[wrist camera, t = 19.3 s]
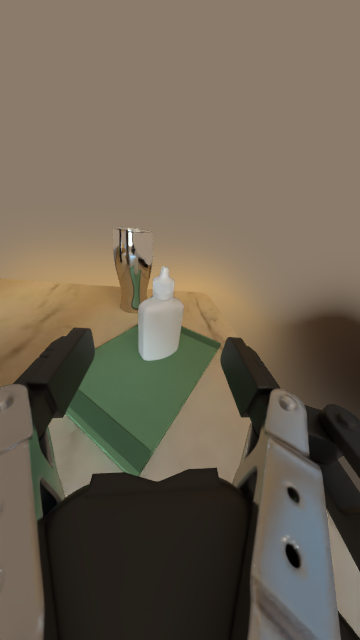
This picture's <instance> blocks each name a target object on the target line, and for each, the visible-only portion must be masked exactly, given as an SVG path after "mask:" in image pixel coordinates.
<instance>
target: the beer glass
mask: <svg viewBox="0 0 360 640" xmlns="http://www.w3.org/2000/svg"><path fill="white" fill-rule="evenodd" d="M152 244H153V243H152V231H149V230H143V229H136V228H128V227H117V226H114V227H113V250H114V261H115V266H116V270H117V275H118V278H119V282H120V287H121V302H120V308H121V309H122V310H123V311H126V312H129V313H138V309H139V305H140V304H141V303H142V302H143V301H145V300H146V299H148V298H147V288H148V283H149V278H150V273H151V268H152V258H153V245H152Z"/></svg>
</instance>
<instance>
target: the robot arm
mask: <svg viewBox="0 0 360 640" xmlns="http://www.w3.org/2000/svg"><path fill="white" fill-rule="evenodd" d="M94 356H95V347H94V342H93V337H92V332H91V329H89V328H73V329H72V330H71V331H70V332H69V334H68V335H67V336H62V337H60V338H59V339H57V340H55V341H54V342H52V343H51V344H50V345H49V346H48V347H47V348H46V349H45V351H44V352H43V353H42V354H41V355H40V356H39V358H37V359H36V360H35V361H34V362H33V363H32V364H31V365H30V366H29V367H28V369H27V370H26V371H25V372H24V373H23V374H22V375H21V376H20V377H19V378H18V379H17V380H16V381H15V382H14V383H13V384H11V385H6V386H3V387H0V640H360V638H359V637H358V635H357V634H356V633H355V631H354V630H353V629H352V628H351V626H350V625H349V624H348V623H347V621H346V620H345V619H344V618H343V616H342V615H341V614H340V613H339V611H338V610H337V601H336V592H335V583H334V574H333V565H332V557H331V548H330V539H329V530H328V521H327V513H326V508H327V510H328V512H329V514H330V516H331V518H332V519H333V521H334V523H335V525H336V527H337V529H338V531H339V533H340V535H341V537H342V539H343V541H344V542H345V544H346V546H347V548H348V550H349V552H350V554H351V556H352V558H353V560H354V562H355V563H356V565H357V567H358V569H359V571H360V493H359V491H358V489H357V488H356V487H355V485H354V483H353V482H352V480H351V479H350V477H349V476H348V474H347V473H346V472H345V470H344V469H343V467H342V466H341V464H340V463H339V461H338V460H337V459H338V458H340V457H341V456H344V457H345V458H346V460H347V461H348V463H349V464H350V465H351V467H352V468H353V470H354V471H355V472H356V474H357V475H358V477H359V478H360V420H359V419H358V418H357V417H356V416H355V415H353V414H352V413H351V412H349V411H348V410H346V409H344V408H342V407H340V406H337V405H333V404H330V405H327V406H326V407H325V408H324V409H323V410H319V409H315V408H312V407H309V406H306V405H303V403H302V402H301V401H300V400H299V399H298V398H297V397H296V396H295V395H293V394H292V393H290V392H288V391H286V390H283V389H281V388H280V387H279V385H278V384H277V382H276V381H275V379H274V378H273V376H272V375H271V374H270V372H269V371H268V369H267V368H266V367H265V365H264V363H263V362H262V361H261V359H260V358H259V356H258V355H257V353H256V352H255V351H254V350H252V349H251V348H250V347H249V346H246V345H245V343H244V341H243V340H242V339H241V338H234V337H228V338H227V340H226V342H225V345H224V348H223V351H222V354H221V366H222V369H223V371H224V374H225V376H226V379H227V382H228V384H229V387H230V390H231V392H232V395H233V397H234V400H235V403H236V405H237V408H238V410H239V413H240V416H241V417H250V420H251V424H250V426H249V430H248V434H247V438H246V442H245V446H244V450H243V454H242V458H241V461H240V464H239V467H238V469H237V471H236V474H235V476H234V479H233V483H232V484H231V483H230V482H228V481H226V480H224V479H222V478H219V476H218V471H217V468H204V469H188V470H186V471H183V472H181V473H178V474H176V475H174V476H171V477H169V478H166V479H164V480H162V481H159V482H155V481H152V480H148V479H145V478H142V477H139V476H136V475H132V474H129V473H126V472H122V473H101V474H92V478H91V481H90V484H89V485H86V486H84V487H82V488H80V489H78V490H76V491H75V492H73V493H72V494H70V495H69V496H67V497H66V498H65V494H64V490H63V486H62V483H61V480H60V477H59V475H58V472H57V468H56V463H55V458H54V452H53V447H52V442H51V437H50V432H49V428H48V425H49V423H50V421H51V419H52V418H63V417H64V415H65V413H66V411H67V409H68V407H69V405H70V403H71V401H72V400H73V398H74V396H75V394H76V392H77V390H78V388H79V386H80V384H81V382H82V380H83V379H84V377H85V375H86V373H87V371H88V369H89V367H90V365H91V363H92V361H93V359H94Z"/></svg>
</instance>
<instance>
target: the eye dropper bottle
mask: <svg viewBox="0 0 360 640" xmlns="http://www.w3.org/2000/svg"><path fill="white" fill-rule="evenodd" d="M174 284H175V281H174V279H172V278H170V276H169V270H168V267H166V266H162V268H161V272H160V275H159V276H158V277H155V278H154V279H153V296H152V297H150V298H148V299H146V300H145V301H143V302H142V303H141V304H140V305H139V309H138V347H139V353H140V355H141V357H142V358H143V359H144V360H147V361H152V360H159V359H163V358H166V357H168V356H170V355H172V354H173V353H174V352H176V350H177V349H178V345H179V339H180V332H181V325H182V318H183V311H184V305H183V303H182V302H181V301H180V300H179V299H177V298H175V297H173V293H174Z"/></svg>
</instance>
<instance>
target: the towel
mask: <svg viewBox="0 0 360 640" xmlns="http://www.w3.org/2000/svg"><path fill="white" fill-rule="evenodd" d="M220 345H221V343H219V342H217V341H215V340H212V339H210V338H208V337H205V336H203V335H201V334H198V333H196V332H194V331H191V330H189V329H187V328H184V327H182V326H181V332H180V339H179V345H178V349H177V350H176V352H174V353H173V354H172V355H170V356H168V357H166V358H163V359H159V360H152V361H147V360H144V359H143V358H142V357H141V355H140V353H139V347H138V325H136V326H135V327H133V328H131V329H129V330H128V331H126V332H124V333H122V334H121V335H119V336H117V337H115V338H114V339H112V340H110V341H108V342H107V343H105V344H103V345H101V346H100V347H98V348H96V349H95V356H94V359H93V361H92V363H91V365H90V367H89V369H88V371H87V373H86V375H85V377H84V379H83V380H82V382H81V384H80V386H79V388H78V390H77V392H76V394H75V396H74V398H73V400H72V401H71V403H70V405H69V407H68V409H67V411H66V414H67V415H68V416H69V417H70V418H71V419H72V420H73V421H74V422H75V423H76V424H77V425H78V426H79V427H80V428H81V429H82V430H83V431H84V432H85V433H86V434H87V435H88V436H89V437H90V438H91V439H92V440H93V441H94V442H95V443H96V444H97V445H98V446H99V447H100V448H101V449H102V450H103V451H104V452H105V453H106V454H107V455H108V456H109V457H110V458H111V459H112V460H113V461H114V462H115V463H116V464H117V465H118V466H119V467H120V468H121V469H122V470H123V471H124V472H126V473H129V474H132V475H136V476H139V475H140V473H141V472H142V470H143V468H144V467H145V465H146V464H147V462H148V460H149V459H150V457H151V456H152V454H153V452H154V451H155V449H156V448H157V446H158V444H159V443H160V441H161V440H162V438H163V436H164V435H165V433H166V432H167V430H168V428H169V427H170V425H171V424H172V422H173V420H174V419H175V417H176V416H177V414H178V412H179V411H180V409H181V408H182V406H183V404H184V403H185V401H186V400H187V398H188V396H189V395H190V393H191V392H192V390H193V388H194V387H195V385H196V384H197V382H198V380H199V379H200V377H201V376H202V374H203V372H204V371H205V369H206V368H207V366H208V364H209V363H210V361H211V360H212V358H213V356H214V355H215V353H216V352H217V350H218V349H219V347H220Z"/></svg>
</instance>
